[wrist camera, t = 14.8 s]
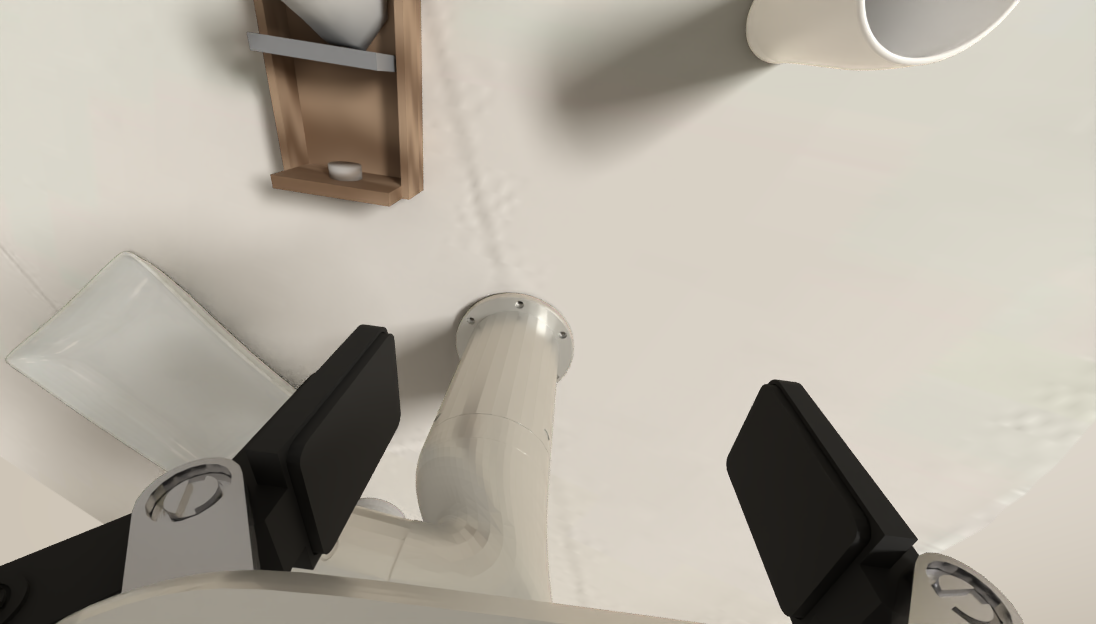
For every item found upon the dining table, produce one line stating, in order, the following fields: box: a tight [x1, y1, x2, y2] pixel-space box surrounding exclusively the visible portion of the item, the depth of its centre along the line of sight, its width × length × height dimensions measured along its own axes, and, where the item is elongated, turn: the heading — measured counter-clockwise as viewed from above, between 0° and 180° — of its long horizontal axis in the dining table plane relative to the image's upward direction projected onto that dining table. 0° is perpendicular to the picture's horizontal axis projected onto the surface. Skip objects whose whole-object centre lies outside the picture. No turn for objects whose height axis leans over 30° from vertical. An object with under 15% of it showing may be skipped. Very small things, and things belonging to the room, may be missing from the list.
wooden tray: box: [254, 0, 423, 206], centre depth 29 cm, size 18×10×6 cm, turn 172°
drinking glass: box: [746, 0, 1020, 70], centre depth 22 cm, size 7×7×15 cm
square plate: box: [5, 251, 296, 472], centre depth 48 cm, size 27×27×4 cm
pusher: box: [247, 32, 397, 72], centre depth 28 cm, size 1×8×5 cm, turn 82°
